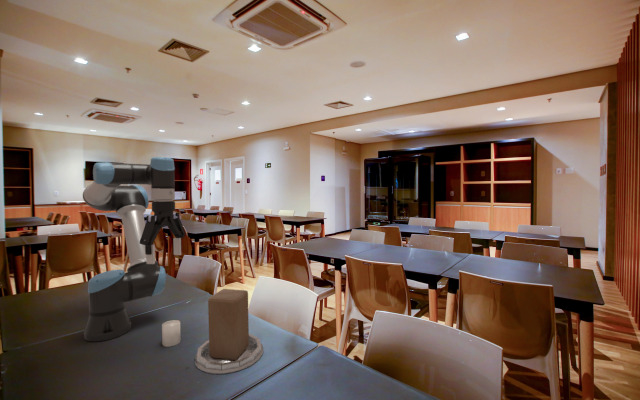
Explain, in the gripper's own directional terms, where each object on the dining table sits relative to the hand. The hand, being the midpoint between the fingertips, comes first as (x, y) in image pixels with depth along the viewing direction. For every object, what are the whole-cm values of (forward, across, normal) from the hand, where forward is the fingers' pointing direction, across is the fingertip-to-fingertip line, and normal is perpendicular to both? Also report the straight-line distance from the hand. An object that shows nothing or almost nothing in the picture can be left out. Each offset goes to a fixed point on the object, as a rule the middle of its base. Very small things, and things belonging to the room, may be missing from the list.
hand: (164, 259), depth 110 cm
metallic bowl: (+30, -3, -27) cm, 41 cm away
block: (+30, -3, -27) cm, 40 cm away
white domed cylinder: (+31, 0, -2) cm, 31 cm away
